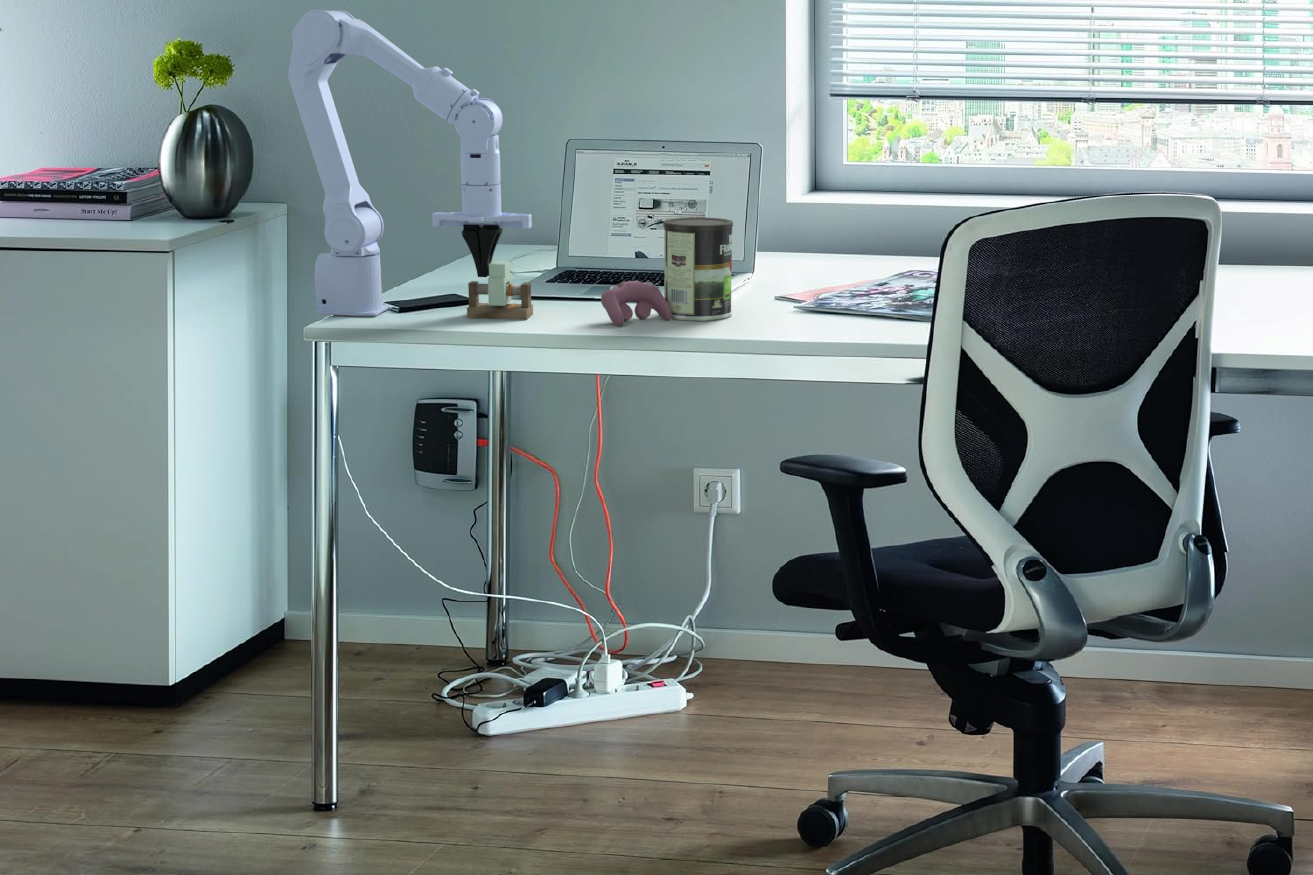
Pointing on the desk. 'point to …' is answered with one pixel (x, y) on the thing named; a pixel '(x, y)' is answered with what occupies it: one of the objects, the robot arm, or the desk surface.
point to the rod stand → (500, 312)
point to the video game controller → (634, 292)
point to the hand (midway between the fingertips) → (483, 276)
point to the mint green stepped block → (499, 283)
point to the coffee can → (698, 268)
